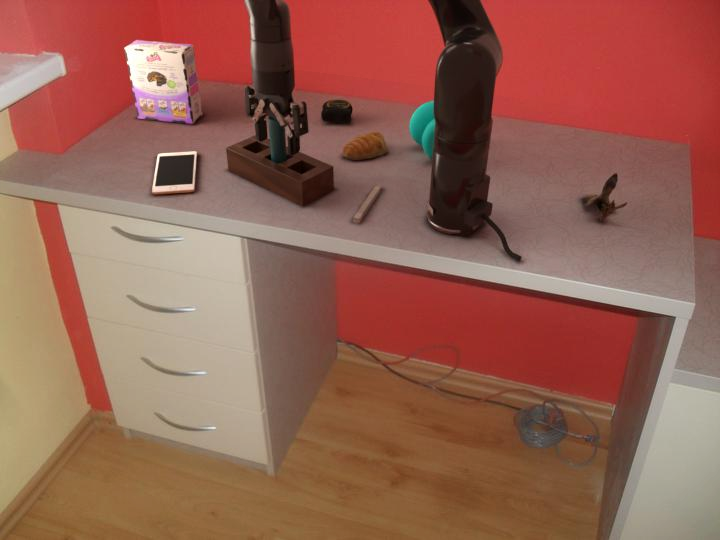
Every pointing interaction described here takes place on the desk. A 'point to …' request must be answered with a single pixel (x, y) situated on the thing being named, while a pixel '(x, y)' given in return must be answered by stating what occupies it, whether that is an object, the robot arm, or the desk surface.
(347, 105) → the tape measure
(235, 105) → the desk surface
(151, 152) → the desk surface
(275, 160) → the peg
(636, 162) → the desk surface
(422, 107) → the turquoise lobed shape
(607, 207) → the eagle figurine
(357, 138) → the pastry
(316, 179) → the hole block
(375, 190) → the beige square stick
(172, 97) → the candy box
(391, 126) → the desk surface
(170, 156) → the cell phone
